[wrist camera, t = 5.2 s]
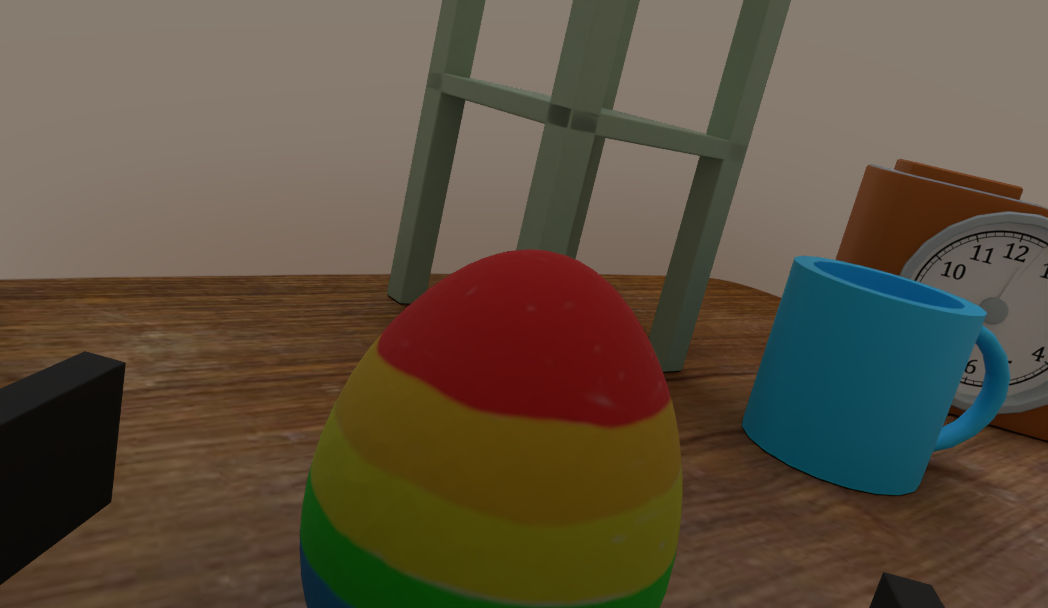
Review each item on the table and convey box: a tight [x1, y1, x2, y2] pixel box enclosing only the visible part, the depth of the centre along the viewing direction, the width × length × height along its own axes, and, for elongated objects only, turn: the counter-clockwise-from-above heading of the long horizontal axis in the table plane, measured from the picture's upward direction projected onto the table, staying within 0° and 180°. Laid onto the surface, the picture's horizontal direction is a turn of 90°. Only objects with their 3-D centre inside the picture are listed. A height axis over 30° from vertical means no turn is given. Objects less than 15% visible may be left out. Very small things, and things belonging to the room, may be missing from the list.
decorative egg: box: [300, 249, 682, 608], centre depth 18 cm, size 8×8×10 cm
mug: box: [742, 256, 1011, 495], centre depth 38 cm, size 12×8×8 cm
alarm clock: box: [836, 159, 1048, 441], centre depth 51 cm, size 15×8×14 cm, turn 76°
